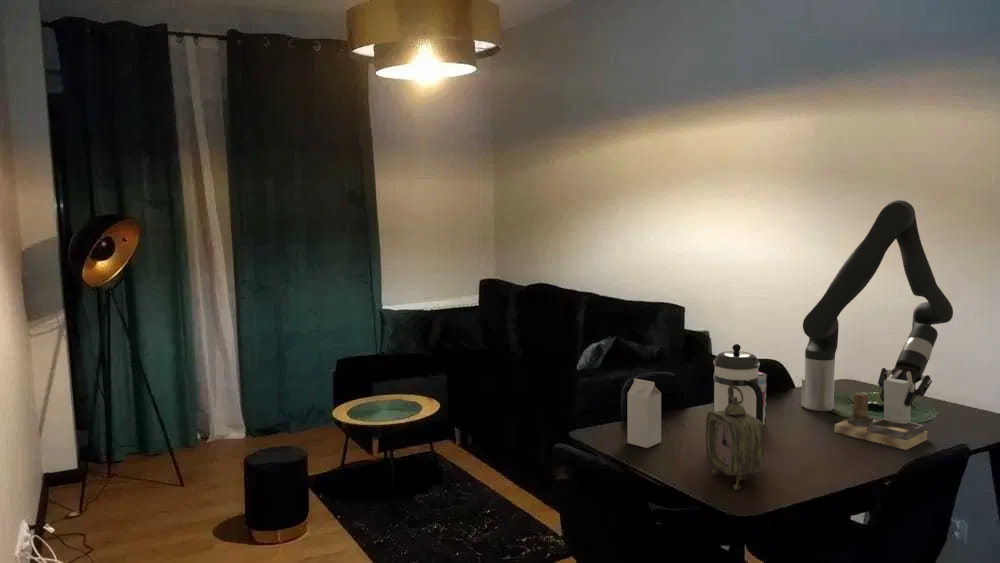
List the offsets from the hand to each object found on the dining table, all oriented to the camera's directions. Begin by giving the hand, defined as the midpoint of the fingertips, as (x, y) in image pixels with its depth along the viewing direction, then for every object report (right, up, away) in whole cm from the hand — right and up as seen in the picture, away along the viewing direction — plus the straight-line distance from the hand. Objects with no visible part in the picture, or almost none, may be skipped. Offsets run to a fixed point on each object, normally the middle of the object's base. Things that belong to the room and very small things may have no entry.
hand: (894, 402), depth 219 cm
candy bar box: (-34, -10, +23) cm, 43 cm away
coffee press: (-45, -13, 0) cm, 47 cm away
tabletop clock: (-54, -16, -26) cm, 62 cm away
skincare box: (+1, -6, +2) cm, 6 cm away
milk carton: (-72, -13, +5) cm, 73 cm away
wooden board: (-1, -11, +6) cm, 12 cm away
